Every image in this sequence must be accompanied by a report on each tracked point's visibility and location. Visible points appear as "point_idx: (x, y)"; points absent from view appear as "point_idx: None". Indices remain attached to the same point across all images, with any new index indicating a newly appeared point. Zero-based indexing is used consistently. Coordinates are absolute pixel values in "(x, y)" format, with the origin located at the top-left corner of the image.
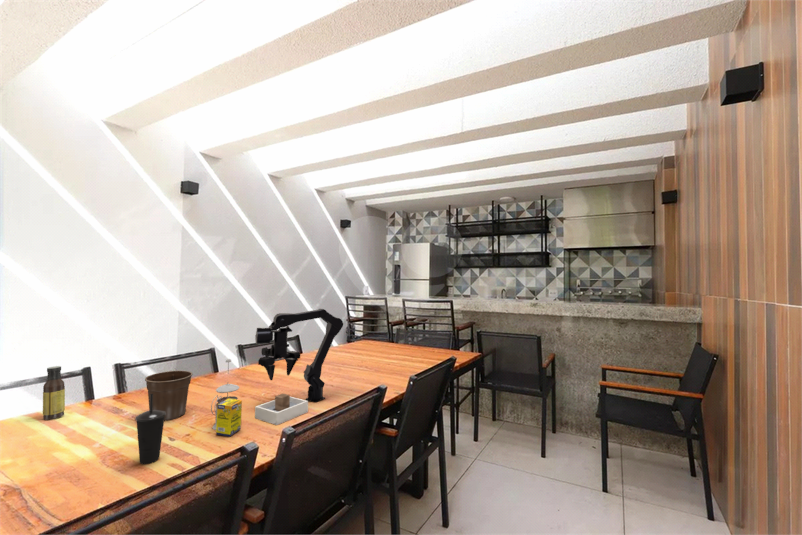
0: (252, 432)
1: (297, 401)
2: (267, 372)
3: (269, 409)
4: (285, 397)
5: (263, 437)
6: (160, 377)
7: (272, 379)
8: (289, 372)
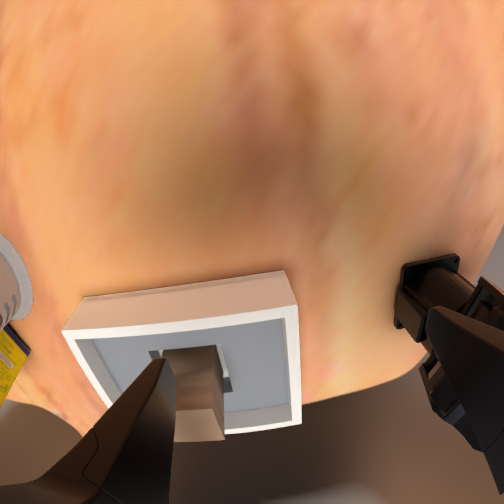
0: (61, 385)
1: (287, 379)
2: (91, 431)
3: (136, 344)
4: (194, 437)
5: (85, 420)
6: None
7: (174, 387)
8: (441, 364)
